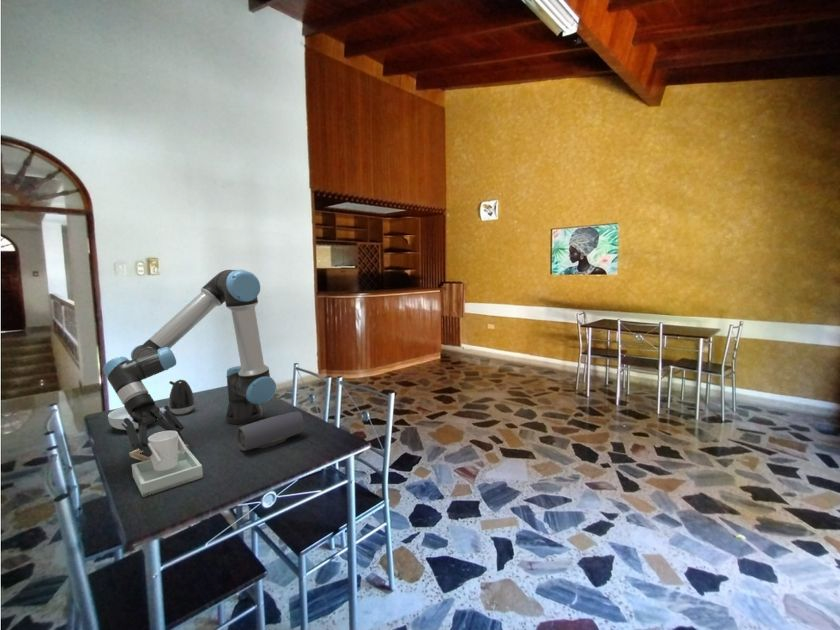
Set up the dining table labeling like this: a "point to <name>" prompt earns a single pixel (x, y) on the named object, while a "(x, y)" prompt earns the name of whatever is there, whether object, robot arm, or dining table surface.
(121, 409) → the cereal bowl
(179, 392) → the pump dispenser
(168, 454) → the white cup
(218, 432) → the dining table surface
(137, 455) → the tan flat square frame
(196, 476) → the bin
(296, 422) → the bluetooth speaker
